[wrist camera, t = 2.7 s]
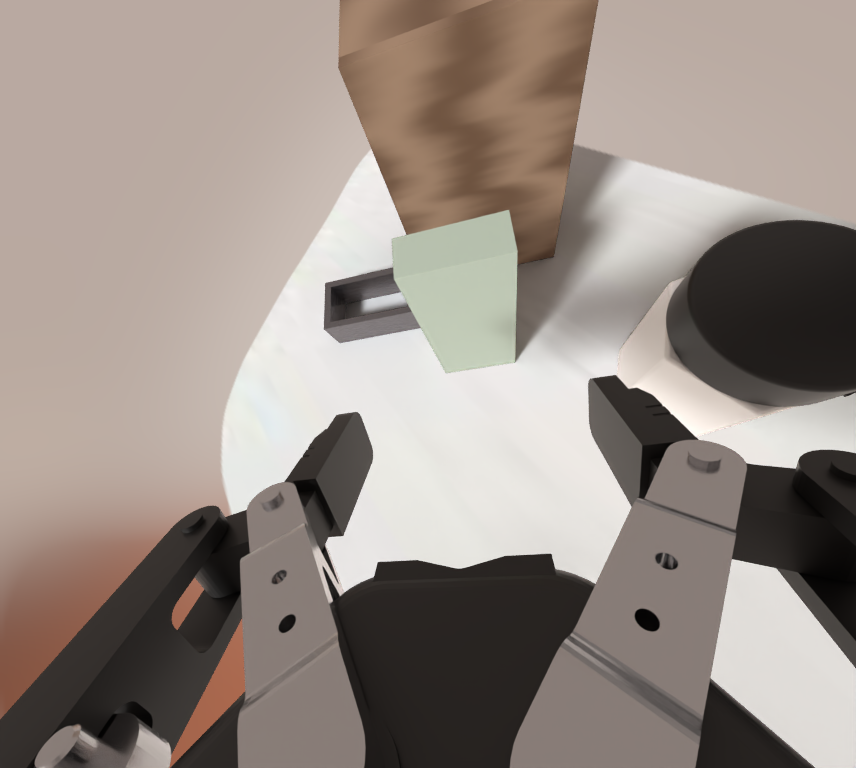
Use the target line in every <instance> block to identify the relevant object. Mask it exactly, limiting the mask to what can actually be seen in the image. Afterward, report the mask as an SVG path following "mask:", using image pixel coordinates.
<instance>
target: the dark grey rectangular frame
mask: <svg viewBox="0 0 856 768" xmlns="http://www.w3.org/2000/svg"><path fill="white" fill-rule="evenodd" d="M398 292H401V291H400V289H399V287H398V286H397V284H396V282H395V280H394V273H393V268H389V269H385V270H381V271H376V272H372V273H367V274H363V275H359V276H354V277H350V278H346V279H341V280H337V281H333V282H328V283H325V312H324V330H325V331H327V332H328V333H329V334H330V335H331V336H332V337H333V338H335V339H336V340H337V341H338V342H339V343H343V342H348V341H353V340H359V339H364V338H369V337H374V336H380V335H385V334H390V333H396V332H401V331H406V330H412V329H417V328H421V327H420V325H419V324H418V322H417V320H416V318H415V316H414V315H413V313H412V311H411V309H410V307H409V306H408V307H403V308H398V309H393V310H388V311H383V312H378V313H373V314H368V315H363V316H358V317H353V318H349V319H345V314H346V304H347V303H352V302H356V301H361V300H366V299H370V298H375V297H380V296H384V295H389V294H394V293H398ZM407 305H408V304H407Z"/></svg>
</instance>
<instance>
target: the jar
mask: <svg viewBox="0 0 856 768" xmlns="http://www.w3.org/2000/svg"><path fill="white" fill-rule="evenodd" d="M617 377H618V378H619V379H620V380H621V381H622V382H623V383H624V384H625V385H626V386H627V388H628V389H630V388H639V389H641V390H643V391H646V392H648V393H650V394H652V395H653V396H654V397H655V398H656V399H658V400H659V401H660V402H661V403H662V406H665V407H666V408H667V409H668V410H669V411H670V413H671V414H673V415H674V416H675V417H676V418H677V419H678V420H679V421H680V422H681V423H682V424H683V425H684V426H685V427H686V428H687V429H688V430H689V431H690V432H691V433H692V434H693V435H694V436H695V437H698V436H701V435H705V434H708V433H711V432H715V431H718V430H721V429H725V428H728V427H731V426H734V425H738V424H741V423H744V422H748V421H751V420H754V419H757V418H761V417H764V416H767V415H770V414H774V413H777V412H780V411H783V410H787V409H790V408H793V407H796V406H803V405H809V404H814V403H818V402H822V401H825V400H828V399H832V398H835V397H839V396H842V395H843V396H844V397H846V396H849V395H852V394H853V393H856V230H854V229H851V228H847V227H844V226H840V225H835V224H831V223H825V222H818V221H806V220H786V221H776V222H769V223H764V224H759V225H755V226H752V227H748V228H745V229H742V230H740V231H737V232H735V233H733V234H731V235H729V236H727V237H725V238H724V239H722V240H720V241H719V242H717V243H716V244H715V245H713V246H712V247H711V248H710V249H709V250H707V251H706V252H705V253H704V254H703V256H702V257H701V258H700V259H699V260H698V262H697V263H696V264H695V265H694V267H693V268H692V269H691V270H690V272H689V273H688V274H687V275H686V277H683V278H680V279H678V280H675V281H672V282H670V283H669V284H668V285H667V287H666V288H665V289H664V291H663V292H662V293H661V295H660V296H659V298H658V299H657V300H656V302H655V303H654V304H653V306H652V307H651V308H650V310H649V311H648V312H647V314H646V315H645V316H644V318H643V319H642V320H641V322H640V323H639V324H638V326H637V327H636V328H635V330H634V331H633V332H632V334H631V335H630V336H629V338H628V339H627V341H626V342H625V343H624V345H623V346H622V347H621V349H620V350H619V357H618V367H617Z"/></svg>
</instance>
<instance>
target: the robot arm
mask: <svg viewBox="0 0 856 768" xmlns="http://www.w3.org/2000/svg"><path fill="white" fill-rule="evenodd" d="M588 395H589V424H590V429H591V433H592V436H593V438H594V440H595V442H596V444H597V445H598V447H599V449H600V451H601V452H602V454H603V456H604V458H605V460H606V461H607V463H608V465H609V467H610V469H611V470H612V472H613V474H614V476H615V478H616V479H617V481H618V483H619V485H620V487H621V488H622V490H623V492H624V494H625V495H626V497H627V499H628V501H629V503H630V504H631V506H632V508H631V510H630V512H629V514H628V517H627V519H626V521H625V523H624V525H623V527H622V529H621V531H620V534H619V536H618V538H617V540H616V542H615V544H614V546H613V548H612V551H611V553H610V555H609V557H608V559H607V561H606V563H605V565H604V568H603V570H602V572H601V574H600V576H599V578H598V580H597V582H596V584H594V583H592V582H591V581H589V580H587V579H584V578H582V577H580V576H578V575H575V574H572V573H569V572H566V571H562V570H557V569H555V567H554V563H553V559H552V555H551V554H537V555H516V556H504V557H500V558H497V559H494V560H490V561H487V562H483V563H480V564H477V565H473V566H470V567H467V568H462V569H456V568H451V567H446V566H442V565H437V564H432V563H428V562H423V561H418V560H412V561H392V562H378V564H377V568H376V572H375V576H374V577H373V578H370V579H368V580H366V581H363V582H361V583H359V584H357V585H356V586H354V587H352V588H350V589H349V590H348V591H346V592H345V593H344V591H343V588H342V585H341V583H340V580H339V577H338V574H337V572H336V569H335V566H334V564H333V561H332V558H331V556H330V553H329V550H328V548H327V546H326V544H325V543H326V541H327V539H328V537H335V536H343V535H344V532H345V530H346V527H347V525H348V522H349V520H350V517H351V515H352V512H353V510H354V507H355V504H356V502H357V499H358V497H359V494H360V492H361V489H362V487H363V484H364V482H365V479H366V476H367V474H368V471H369V469H370V466H371V464H372V460H373V450H372V445H371V443H370V440H369V437H368V434H367V432H366V429H365V426H364V423H363V421H362V418H361V416H360V414H359V413H358V412H353V413H346V414H339V415H337V416H336V417H335V418H334V420H333V421H332V423H331V424H330V426H329V427H328V429H325V430H324V431H323V432H322V433H321V434H319V435H318V436H317V437H316V438H315V439H314V440H313V442H312V443H311V444H310V446H309V447H308V450H306V452H305V453H304V455H303V458H301V459H300V460H299V462H298V463H297V465H296V466H295V467H294V469H293V470H292V472H291V473H290V475H289V476H288V478H287V479H286V480H285V482H282V483H278V484H275V485H272V486H270V487H268V488H266V489H265V490H263V491H262V492H260V493H259V494H258V495H257V496H256V497H254V499H253V500H252V501H251V502H250V504H249V505H248V507H247V510H245V511H242V512H239V513H236V514H233V515H230V516H228V517H225V516H224V515H223V513H222V512H221V510H220V509H219V508H218V507H217V506H207V507H203V508H201V509H198V510H196V511H194V512H192V513H190V514H188V515H187V516H185V517H184V518H183V519H181V520H180V521H179V522H178V523H176V524H175V525H174V526H173V528H171V530H170V531H169V532H168V533H167V534H166V535H165V536H164V537H163V539H162V540H161V541H160V542H159V543H158V544H157V545H156V547H155V548H154V549H153V550H152V551H151V552H150V553H149V554H148V555H147V556H146V558H145V559H144V560H143V561H142V562H141V563H140V564H139V565H138V566H137V568H136V569H135V570H134V571H133V572H132V573H131V574H130V575H129V576H128V578H127V579H126V580H125V581H124V582H123V583H122V584H121V585H120V587H119V588H118V589H117V590H116V591H115V592H114V593H113V594H112V595H111V597H110V598H109V599H108V600H107V601H106V602H105V603H104V604H103V606H102V607H101V608H100V609H99V610H98V611H97V612H96V613H95V614H94V616H93V617H92V618H91V619H90V620H89V621H88V622H87V623H86V625H85V626H84V627H83V628H82V629H81V630H80V631H79V632H78V633H77V635H76V636H75V637H74V638H73V639H72V640H71V641H70V642H69V644H68V645H67V646H66V647H65V648H64V649H63V650H62V651H61V653H60V654H59V655H58V656H57V657H56V658H55V659H54V660H53V661H52V663H51V664H50V665H49V666H48V667H47V668H46V669H45V671H43V673H42V674H41V675H40V676H39V677H38V678H37V680H35V682H34V683H33V684H32V685H31V686H30V687H29V688H28V689H27V690H26V692H25V693H24V694H23V695H22V696H21V697H20V698H19V699H18V700H17V702H16V703H15V704H14V705H13V706H12V707H11V708H10V709H9V710H8V712H7V713H6V714H5V715H4V716H3V717H2V718H1V719H0V768H169V765H170V761H171V754H172V752H173V751H174V749H175V747H176V745H177V743H178V741H179V739H180V737H181V735H182V733H183V731H184V729H185V727H186V725H187V723H188V721H189V720H190V718H191V715H192V714H193V712H194V710H195V708H196V706H197V704H198V702H199V700H200V698H201V696H202V694H203V692H204V691H205V689H206V687H207V685H208V683H209V681H210V679H211V677H212V675H213V673H214V671H215V669H216V667H217V665H218V663H219V661H220V659H221V658H222V655H223V654H224V652H225V650H226V648H227V646H228V644H229V642H230V640H231V638H232V636H233V634H234V632H235V630H236V629H237V627H238V625H239V623H240V621H241V619H242V622H243V644H244V668H245V689H246V690H245V692H244V693H243V694H242V695H241V696H240V697H239V699H237V701H235V702H234V703H233V704H232V705H231V707H230V708H228V709H227V711H226V712H225V713H224V714H223V715H222V716H221V717H220V718H219V719H218V720H217V721H216V722H215V723H214V724H213V725H212V726H211V727H210V728H209V729H208V730H207V731H206V732H205V733H204V734H203V735H202V736H201V737H200V738H199V739H198V740H197V741H196V742H195V743H194V744H193V745H192V746H191V747H190V748H189V749H188V750H187V751H186V752H185V753H184V754H183V756H181V758H179V760H178V761H177V762H176V763H175V764H174V765H173V766H172V767H171V768H815V767H814V766H813V765H811V764H810V763H809V762H808V761H807V760H806V759H804V758H803V757H802V756H801V755H800V754H798V753H797V752H796V751H795V750H794V749H793V748H791V747H790V746H789V745H788V744H787V743H786V742H784V741H783V740H782V739H781V738H780V737H779V736H777V735H776V734H775V733H774V732H773V731H772V730H770V729H769V728H768V727H767V726H766V725H765V724H763V723H762V722H761V721H760V720H759V719H757V718H756V717H755V716H754V715H753V714H752V713H750V712H749V711H748V710H747V709H746V708H745V707H743V706H742V705H741V704H740V703H739V702H738V701H736V700H735V699H734V698H733V697H732V696H731V695H729V694H728V693H727V692H726V691H725V690H724V689H722V688H721V687H720V686H719V685H718V684H716V683H715V682H714V681H713V680H712V679H711V678H710V676H711V671H712V665H713V660H714V654H715V649H716V643H717V638H718V632H719V627H720V621H721V616H722V610H723V604H724V599H725V593H726V588H727V582H728V577H729V571H730V566H731V560H732V559H735V560H740V561H744V562H749V563H754V564H759V565H764V566H769V567H774V568H777V569H778V571H779V572H780V573H781V575H782V576H783V577H784V578H785V580H786V581H787V582H788V583H789V585H790V586H791V587H792V588H793V590H794V591H795V592H796V593H797V595H798V596H799V597H800V598H801V600H802V601H803V602H804V604H805V605H806V606H807V607H808V609H809V610H810V611H811V612H812V614H813V615H814V616H815V617H816V619H817V620H818V621H819V622H820V624H821V625H822V626H823V627H824V629H825V630H826V631H827V633H828V634H829V635H830V636H831V638H832V639H833V640H834V641H835V643H836V644H837V645H838V646H839V648H840V649H841V650H842V651H843V653H844V654H845V655H846V656H847V658H848V659H849V660H850V662H851V663H852V664H853V665H854V667H855V668H856V453H851V452H846V451H838V450H816V451H811V452H807V453H805V454H803V455H802V456H801V457H800V458H799V461H798V464H797V467H796V469H792V468H782V467H772V466H761V465H753V464H747V463H746V462H745V461H744V459H743V458H742V457H741V456H740V455H739V454H737V453H736V452H735V451H733V450H731V449H729V448H727V447H725V446H723V445H720V444H717V443H713V442H709V441H703V440H698V439H697V438H696V437H695V436H694V435H693V434H692V433H691V432H690V431H689V430H688V429H687V428H686V427H685V426H684V425H683V424H682V423H681V422H680V421H679V420H678V419H677V418H676V417H675V416H674V415H673V414H671V413H670V411H669V410H668V409H667V408H666V407H665V406H662V403H661V402H660V401H659V400H658V399H656V398H655V397H654V396H653V395H652V394H650V393H648V392H646V391H643V390H641V389H639V388H630V389H628V388H627V386H626V385H625V384H624V383H623V382H622V381H621V380H620V379H619V378H618V377H617V376H616V375H612V376H605V377H599V378H592V379H590V380H589V383H588ZM194 577H195V578H196V580H197V581H198V582H199V583H200V584H201V585H202V587H203V588H204V591H203V592H202V594H201V595H200V597H199V598H198V600H197V602H196V603H195V605H194V606H193V608H192V609H191V610H190V612H189V614H188V615H187V617H186V618H185V620H184V621H183V623H182V624H181V626H180V627H179V629H178V630H176V629H175V628H174V626H173V624H172V620H171V619H172V612H173V609H174V606H175V604H176V603H177V601H178V600H179V598H180V597H181V595H182V594H183V593H184V591H185V590H186V588H187V587H188V586H189V584H190V583H191V581H192V580H193V579H194Z"/></svg>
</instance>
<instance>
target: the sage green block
mask: <svg viewBox="0 0 856 768" xmlns="http://www.w3.org/2000/svg"><path fill="white" fill-rule="evenodd" d="M517 252H518V251H517V246H516V242H515V237H514V232H513V227H512V222H511V217H510V212H509V210H506V211H502V212H498V213H494V214H490V215H486V216H482V217H478V218H474V219H470V220H466V221H462V222H458V223H453V224H449V225H445V226H441V227H437V228H433V229H429V230H425V231H421V232H417V233H413V234H409V235H405V236H401V237H397V238H393V239H392V253H393V273H394V280H395V282H396V284H397V286H398V287H399V289H400V291H401V293H402V295H403V296H404V298H405V300H406V302H407V304H408V306H409V307H410V309H411V311H412V313H413V315H414V316H415V318H416V320H417V322H418V324H419V325H420V327H421V329H422V331H423V333H424V335H425V336H426V338H427V340H428V342H429V344H430V345H431V347H432V349H433V351H434V353H435V354H436V356H437V358H438V360H439V362H440V364H441V365H442V367H443V369H444V371H445V373H452V372H458V371H464V370H471V369H477V368H484V367H490V366H496V365H503V364H509V363H515V347H516V300H517Z"/></svg>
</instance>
